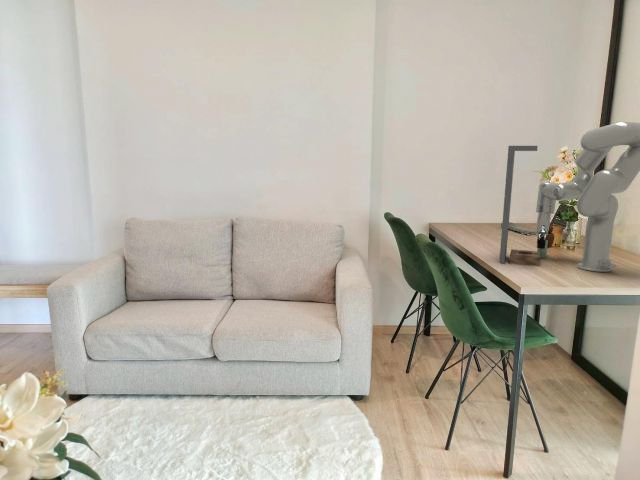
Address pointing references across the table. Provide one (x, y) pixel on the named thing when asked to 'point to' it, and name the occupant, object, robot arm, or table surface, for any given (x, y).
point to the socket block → (525, 257)
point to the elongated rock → (520, 229)
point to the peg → (543, 250)
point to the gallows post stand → (509, 196)
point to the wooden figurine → (550, 236)
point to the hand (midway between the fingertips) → (540, 246)
